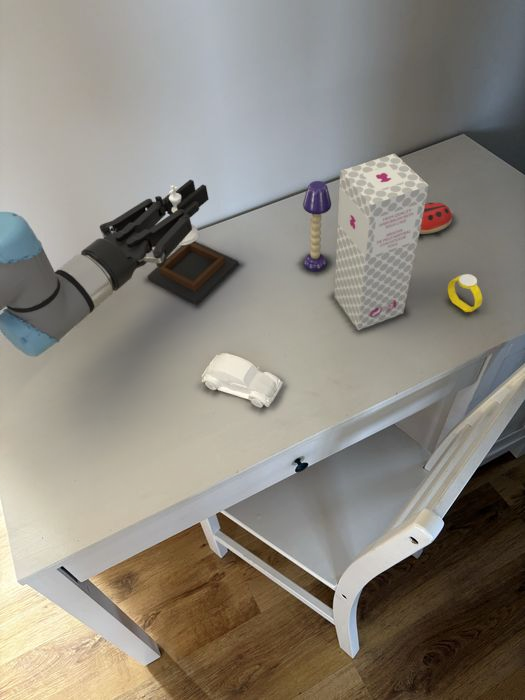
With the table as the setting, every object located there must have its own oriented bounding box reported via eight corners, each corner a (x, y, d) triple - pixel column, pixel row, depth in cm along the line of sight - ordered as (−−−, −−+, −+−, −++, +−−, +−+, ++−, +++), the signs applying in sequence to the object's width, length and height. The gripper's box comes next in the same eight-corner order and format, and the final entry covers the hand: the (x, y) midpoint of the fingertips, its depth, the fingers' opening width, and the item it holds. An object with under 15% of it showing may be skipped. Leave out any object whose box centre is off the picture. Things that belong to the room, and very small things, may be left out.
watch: (480, 312, 88) (490, 287, 83) (468, 320, 87) (477, 295, 83) (453, 291, 91) (460, 266, 87) (441, 299, 91) (448, 273, 86)
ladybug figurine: (395, 220, 104) (397, 205, 101) (440, 207, 105) (444, 192, 102) (412, 241, 100) (414, 226, 97) (459, 227, 101) (463, 212, 98)
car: (199, 385, 84) (194, 368, 80) (220, 356, 87) (216, 338, 83) (267, 414, 79) (264, 397, 76) (286, 383, 83) (284, 365, 79)
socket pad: (148, 279, 99) (144, 270, 97) (190, 242, 104) (188, 232, 102) (197, 305, 94) (194, 295, 92) (238, 265, 100) (237, 255, 98)
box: (358, 330, 88) (371, 204, 68) (334, 296, 93) (340, 170, 73) (403, 313, 89) (428, 185, 70) (377, 280, 94) (394, 153, 75)
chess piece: (204, 232, 92) (194, 182, 85) (186, 248, 90) (174, 199, 82) (182, 223, 94) (170, 173, 87) (164, 239, 92) (150, 190, 84)
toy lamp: (308, 252, 100) (307, 175, 87) (332, 256, 99) (335, 179, 86) (300, 269, 98) (298, 192, 84) (325, 274, 96) (327, 196, 83)
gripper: (72, 272, 85) (171, 194, 96) (139, 310, 79) (237, 222, 90) (54, 236, 80) (161, 156, 90) (125, 273, 73) (231, 183, 84)
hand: (199, 189), depth 90 cm, fingers closed on chess piece, 2 cm apart
